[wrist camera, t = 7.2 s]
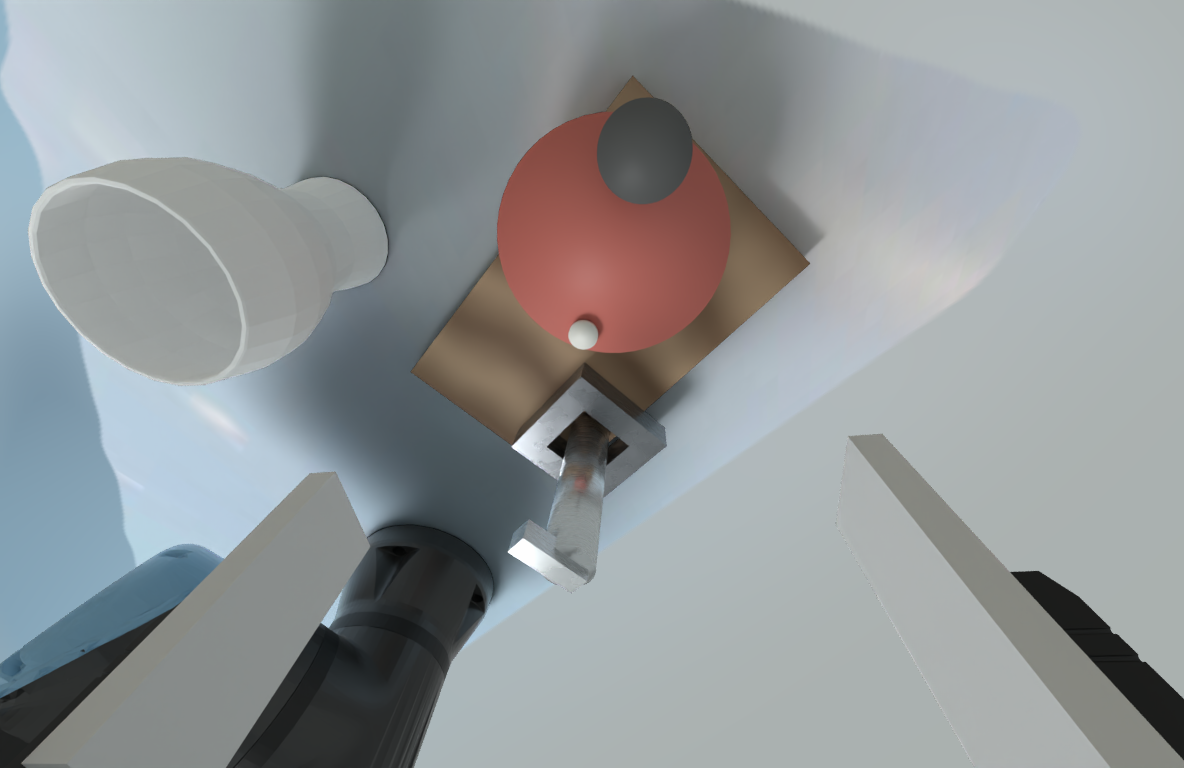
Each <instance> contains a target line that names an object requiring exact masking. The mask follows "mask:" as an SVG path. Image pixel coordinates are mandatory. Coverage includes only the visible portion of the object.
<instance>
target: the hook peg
mask: <svg viewBox="0 0 1184 768" xmlns="http://www.w3.org/2000/svg"><path fill="white" fill-rule="evenodd" d="M609 433H610V431H609V430H608V429H607V428H606V427H604V426H603V425H602V424H601V423H599V422H598V421H597V420H595V419H594V418H593V417H592V416H590V415H589V414H588V413H587V412H586V413H582V414H580V415H579V416H578V417H577V418H576V419H575V420H574V421H573V422H572V425H571V429H570V433H569V437H568V441H567V446H566V450H565V454H564V458H563V462H562V467H561V471H560V475H559V479H558V483H557V487H556V492H555V496H554V500H553V504H552V508H551V512H550V517H549V521H548V525H547V529H546V530H544V529H543V528H541V527H540V526H538V525H537V524H536V523H534V522H533V521H531V520H530V519H528V520H527V521H526V522H525V523H524V524H523V525H521V526H520V527H519V528H518V529H517V530H516V531H515V532H514V533H513V536H512V539H511V543H510V546H509V549H508V553H510V554H511V555H513V556H514V557H516V558H518V559H519V560H521V561H522V562H524V563H525V564H527V565H528V566H530V567H531V568H533V569H534V570H536V571H537V572H539V573H541V574H542V575H543V576H544V577H545V578H546V579H547V580H548V581H550V582H551V583H553V584H556V585H559V586H561V587H562V588H564V589H565V590H567V591H568V592H570V593H572V592H574V591H575V590H576V589H578V588H579V587H581V586H582V585H585V584H587V583H588V582H590V581H591V580H592V579H593V577H594V575H595V572H596V562H597V553H598V543H599V533H600V523H601V513H602V503H603V493H604V483H605V473H606V463H607V453H608V443H609Z"/></svg>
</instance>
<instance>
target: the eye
mask: <svg viewBox="0 0 1184 768" xmlns="http://www.w3.org/2000/svg"><path fill="white" fill-rule="evenodd" d="M583 411H585V412H587V413H588V414H589V415H590V416H592V417H593V418H594V419H595V420H597V421H598V422H599V423H601V424H602V425H603V426H604V427H606V428H607V429H608V430H609V431H611V432H612V433H613V434H615V435H616V436H617V437H618V439H617V440H616V441H615V442H614V443H613V444H612V445H611V446H609V447H608V453H607V463H606V473H605V483H604V493H603V498H604V497H605V496H606V495H607V494H609V493H610V492H611V491H612V490H614V489H615V488H616V487H617V486H618V485H620V484H621V483H622V482H623V481H625V480H626V479H627V478H628V477H629V476H631V475H632V474H633V473H634V472H635V471H637V470H638V469H639V468H640V467H642V466H643V465H644V464H645V463H646V462H648V461H649V460H650V459H651V458H653V457H654V456H655V455H656V454H657V453H659V452H660V451H661V450H662V449H663V448H665V447H666V446H667V444H666V434H665V428H664V427H663V426H662V425H661V424H659V423H658V422H657V421H656V420H655V419H653V418H652V417H651V416H650V415H649V414H647V413H646V412H645V411H644V410H642V409H641V408H640V407H639V406H638V405H636V404H635V403H634V402H633V401H631V400H630V399H629V398H628V397H627V396H625V395H624V394H623V393H622V392H621V391H619V390H618V389H617V388H616V387H614V386H613V385H612V384H611V383H610V382H608V381H607V380H606V379H605V378H603V377H602V376H601V375H600V374H599V373H597V372H596V371H595V370H594V369H592V368H591V367H590V366H589V365H588V364H586V363H585V362H584V363H583V364H582V365H581V366H580V367H579V368H578V369H577V370H576V371H575V372H574V373H573V374H572V375H571V376H570V377H569V378H568V379H567V381H566V382H565V383H564V384H563V385H562V386H561V387H560V388H559V389H558V390H557V391H556V392H555V393H554V394H553V395H552V396H551V397H550V398H549V399H548V400H547V401H546V402H545V403H544V404H543V405H542V406H541V407H540V408H539V409H538V410H537V411H536V412H535V413H534V414H533V415H532V417H531V418H530V419H529V420H528V421H527V422H526V423H525V424H524V425H523V426H522V427H521V428H520V429H519V430H518V432H517V435H516V437H515V440H514V442H513V444H512V448H513V449H514V450H516V451H517V452H519V453H520V454H521V455H523V456H524V457H526V458H527V459H528V460H530V461H531V462H532V463H534V464H535V465H537V466H538V467H539V468H541V469H542V470H544V471H545V472H546V473H548V474H549V475H550V476H552V477H553V478H555V479H556V480H557V481H558V479H559V475H560V471H561V467H562V462H563V458H564V454H565V450H566V446H567V441H566V440H565V439H564V438H562V437H561V436H560V435H559V434H560V433H561V432H562V431H563V430H564V429H565V428H567V427H568V426H569V425H570V424H571V423H572V422H573V421H574V420H575V419H576V418H577V417H578V416H579V415H580V414H581V413H582V412H583Z"/></svg>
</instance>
